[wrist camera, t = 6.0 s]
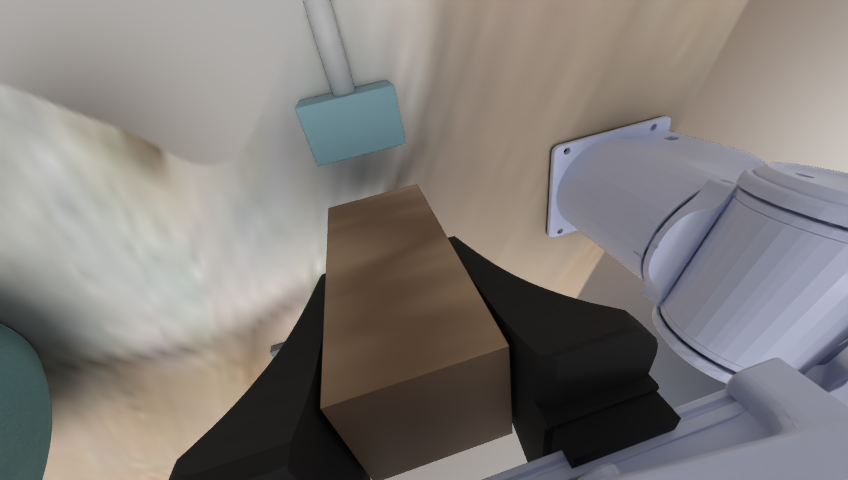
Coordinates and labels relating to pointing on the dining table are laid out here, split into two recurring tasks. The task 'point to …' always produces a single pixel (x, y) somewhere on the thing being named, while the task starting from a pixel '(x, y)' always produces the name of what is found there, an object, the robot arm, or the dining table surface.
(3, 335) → the teal bowl
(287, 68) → the dining table surface
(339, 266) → the walnut block
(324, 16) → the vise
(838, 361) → the robot arm
